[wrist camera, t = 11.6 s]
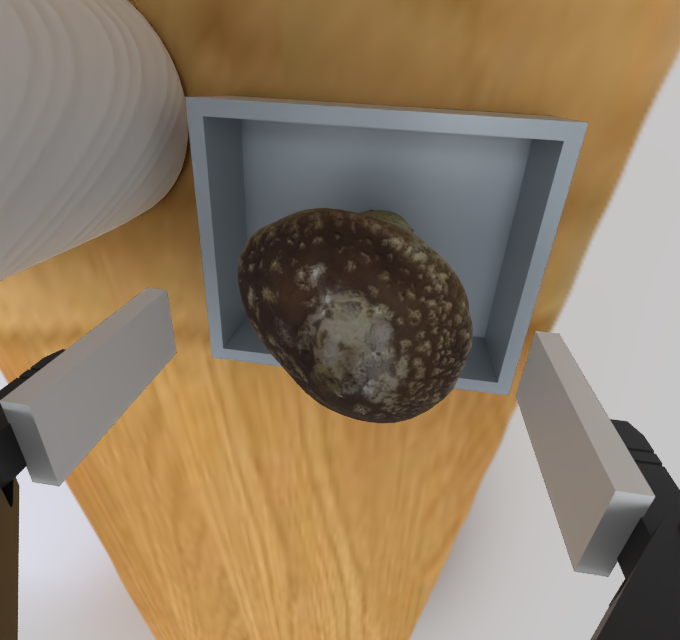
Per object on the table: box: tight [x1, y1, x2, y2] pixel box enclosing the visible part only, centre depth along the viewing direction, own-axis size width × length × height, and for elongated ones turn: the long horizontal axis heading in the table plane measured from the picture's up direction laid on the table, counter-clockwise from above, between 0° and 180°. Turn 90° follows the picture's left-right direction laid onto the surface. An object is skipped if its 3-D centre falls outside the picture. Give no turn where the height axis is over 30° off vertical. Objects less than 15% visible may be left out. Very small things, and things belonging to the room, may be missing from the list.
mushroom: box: [238, 208, 473, 423], centre depth 22 cm, size 9×9×15 cm
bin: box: [185, 95, 588, 395], centre depth 26 cm, size 15×19×6 cm
